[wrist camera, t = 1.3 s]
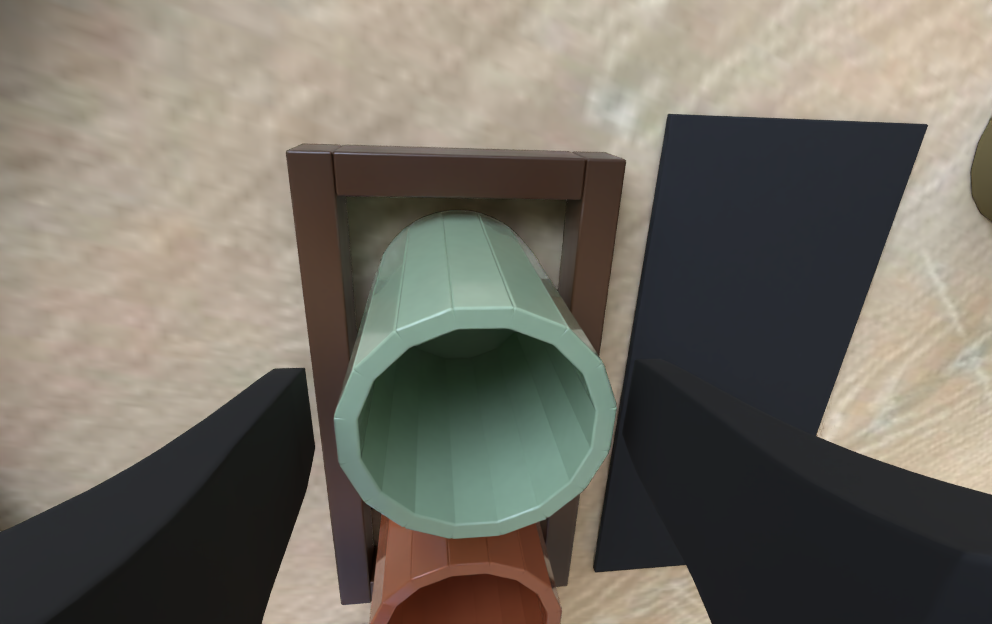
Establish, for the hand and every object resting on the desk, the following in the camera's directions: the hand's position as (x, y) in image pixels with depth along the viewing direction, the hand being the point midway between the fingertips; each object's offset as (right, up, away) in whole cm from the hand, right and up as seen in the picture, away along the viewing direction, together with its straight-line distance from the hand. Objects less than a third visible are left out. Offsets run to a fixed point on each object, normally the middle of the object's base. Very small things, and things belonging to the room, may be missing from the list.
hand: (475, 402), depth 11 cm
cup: (-1, +3, +6) cm, 7 cm away
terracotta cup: (-1, -5, +10) cm, 11 cm away
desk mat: (+10, -1, +9) cm, 14 cm away
